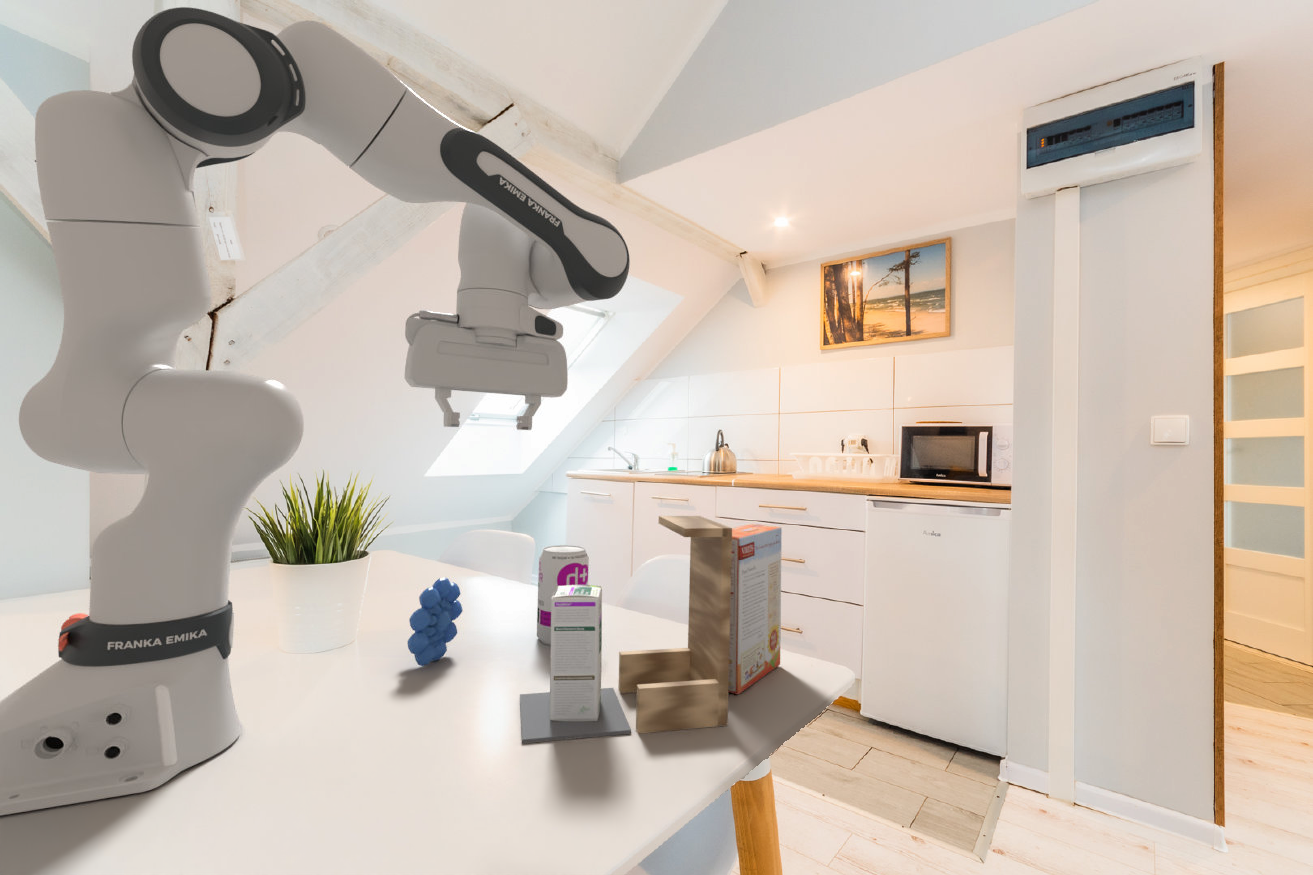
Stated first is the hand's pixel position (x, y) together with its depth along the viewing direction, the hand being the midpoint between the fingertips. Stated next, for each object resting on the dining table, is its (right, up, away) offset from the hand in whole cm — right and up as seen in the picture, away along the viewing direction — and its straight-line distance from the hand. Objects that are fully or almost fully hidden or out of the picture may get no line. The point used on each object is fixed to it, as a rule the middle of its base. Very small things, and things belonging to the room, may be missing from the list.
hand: (489, 428), depth 76 cm
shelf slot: (+23, -35, -2) cm, 42 cm away
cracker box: (+34, -35, +9) cm, 50 cm away
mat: (+11, -34, -4) cm, 36 cm away
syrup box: (+12, -34, -4) cm, 36 cm away
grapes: (-12, -34, +12) cm, 38 cm away
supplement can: (+6, -35, +23) cm, 42 cm away
